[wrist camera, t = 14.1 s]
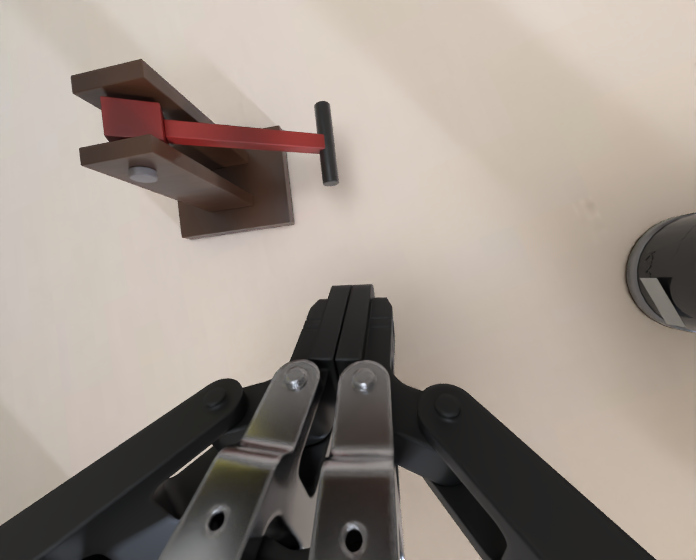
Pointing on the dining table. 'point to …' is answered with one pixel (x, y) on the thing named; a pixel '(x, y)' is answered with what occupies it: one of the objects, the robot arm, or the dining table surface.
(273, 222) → the rod stand
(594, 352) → the dining table surface
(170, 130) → the lever handle
